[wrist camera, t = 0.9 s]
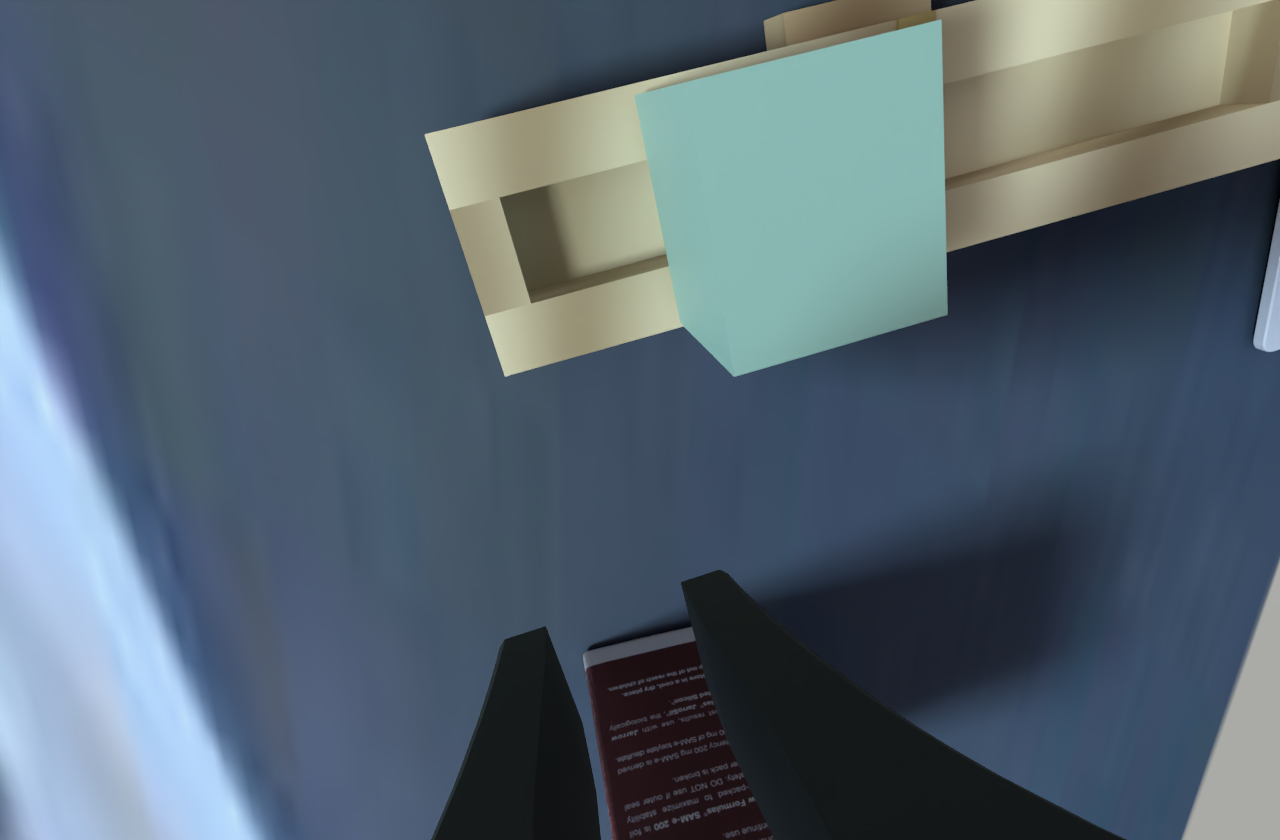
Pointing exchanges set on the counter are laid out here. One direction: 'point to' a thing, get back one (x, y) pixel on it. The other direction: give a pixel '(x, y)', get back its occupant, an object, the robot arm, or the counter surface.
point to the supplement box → (666, 745)
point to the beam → (973, 148)
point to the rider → (804, 197)
